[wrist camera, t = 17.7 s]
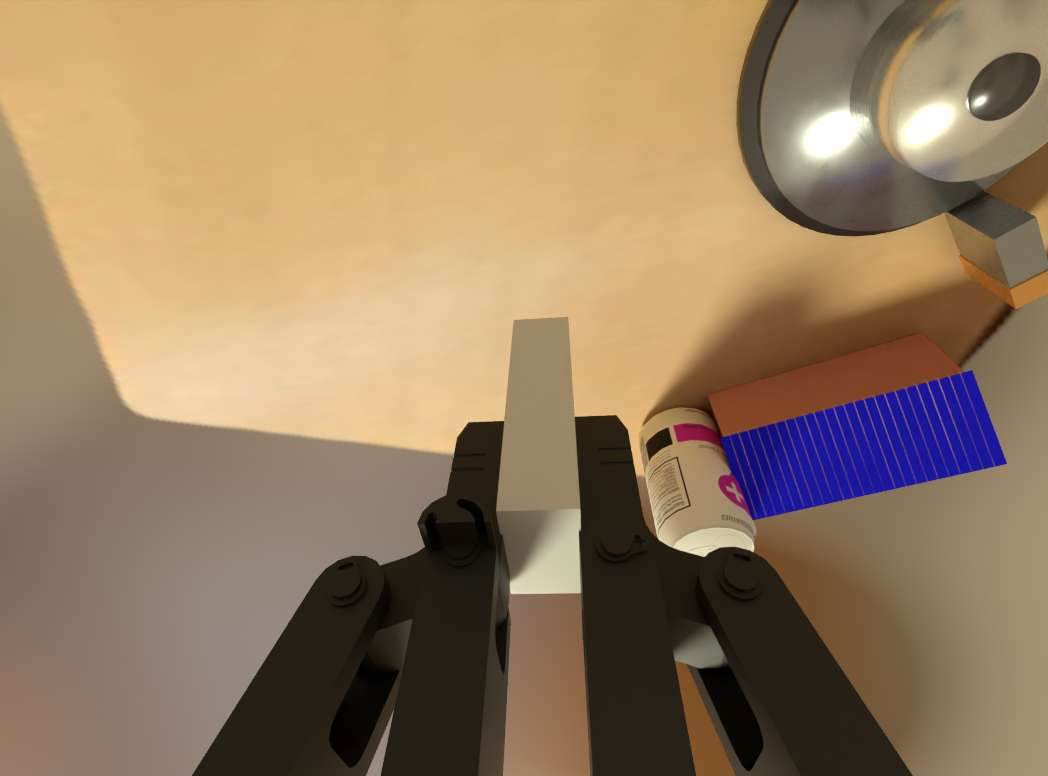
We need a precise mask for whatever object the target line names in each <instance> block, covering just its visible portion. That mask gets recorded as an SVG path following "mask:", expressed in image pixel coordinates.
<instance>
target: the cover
mask: <svg viewBox="0 0 1048 776" xmlns="http://www.w3.org/2000/svg"><path fill="white" fill-rule="evenodd" d="M850 113H851V119H852V122H853V125H854V128H855V129H856V131H857V133H858V135H859V136H860V137H861V138H862V140H863V141H864V142H865V143H866V144H868V145H869V146H870V147H872V148H874V149H876V150H877V151H879V152H881V153H883V154H885V155H887V156H889V157H891V158H893V159H895V160H896V161H898V162H900V163H902V164H904V165H906V166H908V167H910V168H912V169H914V170H915V171H917V172H919V173H921V174H923V175H925V176H927V177H929V178H932V179H935V180H940V181H946V182H962V181H971V180H975V179H979V178H984V177H987V176H990V175H993V174H995V173H998V172H1000V171H1002V170H1005V169H1007V168H1009V167H1011V166H1013V165H1015V164H1016V163H1018V162H1020V161H1022V160H1023V159H1025V158H1027V157H1028V156H1030V155H1031V154H1033V153H1034V152H1036V151H1037V150H1038V149H1040V148H1041V147H1042V146H1044V145H1045V144H1046V143H1047V142H1048V0H905V1H904V2H903V3H902V4H900V5H899V6H898V7H897V8H896V9H895V10H894V11H893V12H892V13H891V14H890V15H889V16H888V17H887V18H886V19H885V21H884V22H883V23H882V24H881V26H880V27H879V28H878V29H877V31H876V32H875V34H874V35H873V36H872V38H871V39H870V41H869V43H868V44H867V46H866V48H865V50H864V51H863V53H862V55H861V58H860V60H859V62H858V64H857V67H856V70H855V73H854V76H853V80H852V84H851V90H850Z"/></svg>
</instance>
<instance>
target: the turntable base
mask: <svg viewBox="0 0 1048 776" xmlns="http://www.w3.org/2000/svg"><path fill="white" fill-rule="evenodd" d="M793 2H794V0H769V1H768V3H767V5H766V7H765V9H764V11H763V13H762V15H761V18H760V20H759V22H758V24H757V26H756V28H755V31H754V34H753V36H752V39H751V42H750V45H749V47H748V50H747V53H746V57H745V61H744V65H743V69H742V72H741V76H740V82H739V90H738V97H737V132H738V141H739V146H740V150H741V154H742V158H743V161H744V164H745V166H746V169H747V171H748V173H749V176H750V178H751V180H752V181H753V183H754V184H755V186H756V187H757V189H758V190H759V192H760V193H761V194H762V195H763V197H764V198H765V199H766V200H767V201H768V202H769V203H770V204H771V205H772V206H773V207H774V208H775V209H776V210H777V211H778V212H780V213H781V214H782V215H784V216H785V217H786V218H788V219H789V220H791V221H793V222H795V223H797V224H799V225H800V226H802V227H805V228H808V229H811V230H814V231H817V232H820V233H825V234H831V235H837V236H865V235H875V234H881V233H886V232H891V231H895V230H899V229H902V228H905V227H909V226H912V225H915V224H918V223H920V222H918V223H915V224H912V225H908V226H904V227H899V228H894V229H888V230H878V231H853V230H846V229H840V228H836V227H832V226H829V225H826V224H823V223H821V222H819V221H817V220H815V219H813V218H811V217H808V216H807V215H806V214H804V213H803V212H802V211H800V210H799V209H798V208H796V207H795V206H794V205H793V204H792V203H791V202H790V201H789V200H788V199H787V198H786V197H785V196H784V195H783V194H782V193H781V192H780V191H779V189H778V188H777V186H776V185H775V183H774V182H773V180H772V179H771V177H770V175H769V173H768V171H767V169H766V166H765V164H764V161H763V158H762V154H761V150H760V147H759V139H758V131H757V105H758V98H759V91H760V84H761V80H762V76H763V72H764V68H765V64H766V61H767V58H768V55H769V53H770V50H771V47H772V44H773V42H774V39H775V37H776V35H777V32H778V30H779V28H780V26H781V24H782V22H783V20H784V18H785V16H786V14H787V12H788V10H789V9H790V7H791V5H792V4H793ZM924 221H925V220H924ZM921 222H923V221H921Z"/></svg>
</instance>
